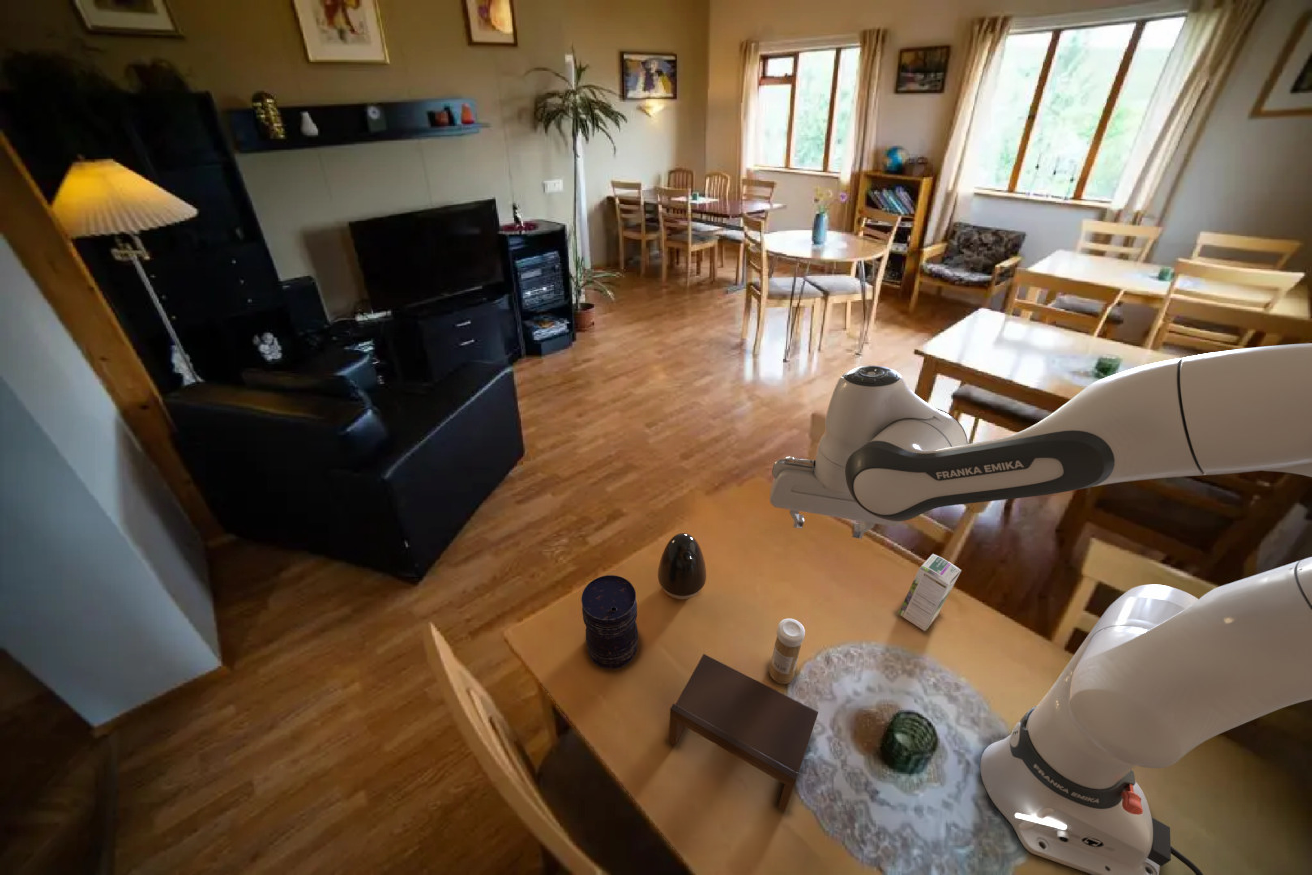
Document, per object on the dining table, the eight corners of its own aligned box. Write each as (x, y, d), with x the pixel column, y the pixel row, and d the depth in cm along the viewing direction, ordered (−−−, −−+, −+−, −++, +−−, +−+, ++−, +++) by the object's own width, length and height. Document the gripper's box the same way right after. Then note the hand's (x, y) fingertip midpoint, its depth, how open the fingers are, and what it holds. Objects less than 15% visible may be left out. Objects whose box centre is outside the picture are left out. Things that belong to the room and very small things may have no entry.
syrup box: (910, 598, 112) (931, 551, 103) (938, 616, 108) (962, 568, 100) (897, 614, 108) (917, 566, 100) (926, 633, 105) (949, 585, 96)
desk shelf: (809, 739, 88) (820, 706, 82) (785, 811, 80) (796, 780, 74) (701, 682, 97) (704, 647, 90) (669, 741, 88) (670, 708, 82)
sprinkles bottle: (798, 676, 97) (811, 632, 90) (780, 689, 95) (791, 645, 88) (781, 657, 101) (791, 612, 93) (763, 669, 99) (772, 625, 91)
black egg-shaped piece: (664, 612, 109) (665, 562, 100) (653, 573, 117) (652, 524, 108) (712, 602, 111) (716, 552, 102) (697, 565, 119) (700, 515, 110)
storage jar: (581, 633, 105) (574, 583, 96) (628, 617, 108) (625, 568, 99) (595, 677, 97) (589, 628, 89) (645, 659, 100) (644, 609, 92)
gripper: (774, 468, 79) (762, 533, 87) (919, 490, 75) (893, 555, 84) (776, 443, 84) (764, 507, 92) (912, 462, 80) (888, 527, 89)
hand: (826, 530), depth 88 cm, fingers open, 8 cm apart
